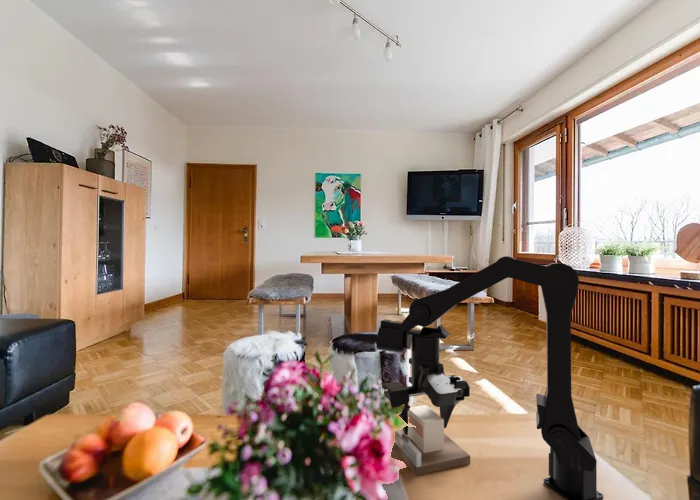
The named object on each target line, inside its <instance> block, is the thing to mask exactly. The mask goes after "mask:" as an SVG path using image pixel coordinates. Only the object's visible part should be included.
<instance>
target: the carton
mask: <svg viewBox="0 0 700 500" xmlns="http://www.w3.org/2000/svg"><path fill="white" fill-rule="evenodd" d="M408 417H410V418H409V420H408V421H409V423H411V424H412V425H414V426H416V428H415V427H408V436H409V437H410V438H411V440H412V441H413V442H414V443H415V444H416V445H417V446H418V447H419V448H420V449H421V450H422V451H423V452H424V453H427V452H432V451H437V450H443V449H444V434H445V428H444V419H443V418H441V417H440V414H437V413H436V412H435V411H434V410H433V409H431V408H430V407H429V406H428V405H426V404H423V405H418V406H416V405H415V406H410V409H409V410H408Z"/></svg>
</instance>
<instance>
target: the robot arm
mask: <svg viewBox="0 0 700 500" xmlns="http://www.w3.org/2000/svg"><path fill="white" fill-rule="evenodd" d="M579 278H580V277H579V275H578V272H577V271H576V269H574V268H573V267H572V266H570V265H568V264H566V263H561V262H551V263H548V264H546V265H544V264H540V263H535V262H529V261H526V260H521V259H517V258H514V257H513V256H506V255H505V256H502V257H499V258H498V259H497V260H496V261H495V262H493V263H491V264H489V265H488V266H486V267H485V268H482V269H480V270H479V271H477V272H475V273H473V274H471V275H470V276H468V277H466V278H464V279H463V280H461V281H458V282H457V283H456V284H453V285H451V286H450V287H448V288H446V289H443V290H440V291H438V292H434V293H431V294H429V295H425V296H422V297H419V298H417V299H414V300H413V301H412V302H411V303H410V305H409V309H408V314H407V316H406V318H405V317H404V320H402V321H396V320H391V319H386V318H385V319H383V320H381V321H380V326H379V328H378V331H377V335H376V339H375V341H376V343H375V344H376V348H377V350H379V351H384V352H390V353H399V354H405V353H406V352H407V350H410V349H411V357H409V358H408V364H410V365H411V376H408V383H410V384H411V386H403V385H402V384H401V383H400V382H398V381H396V382H395V381H394V382H386V383H382V385H381V386H382V387H383V388H384V389H388V391H387V392H386V397H387V398H389V400H390V402H391V405H392V406H393V407H392V408H394V407H398V406H400V405H402V404H405V408H404V410H403V411H402V413H401V414H400V415H399V416H400V417H401V418H402V419H403V420H404V421H405V422H406V423H407V424H408V410H409V409H410V407H411V406H410V405H409V402H410V397H411V398H412V397H418V396H427V398H428V399H429V400H430V403H431V404H432V405H433V406H434V407H436V408H439V416H440V417H441V418H443V419H444V429H446V428H447V427H448V424H449V421H450V419H451V415H452V414H453V411H454V409H455V407H456V405H457V404H459V403H460V402H464V401H465V399H466V398H467V397H470V396H471V387H470V385H469V383H468V381H467V380H464V379H463V377H462V376H461V375H455V374H451V375H445V369H444V364H443V363H441V362H440V339H443V340H445V339H447V338H448V337H449V336H450V332H449V331H448V330H447V329H446V328H445V327H444V325H443V324H439V325H438V326H437V327H431V325H433V323H435V322H437V320H439V319H441V317H443V316H444V315H445V314H447V313H448V312H449V311H451V310H452V309H453V308H454V307H455V306H457V305H458V304H460V303H462V302H464V301H466V300H467V299H470V298H471V297H473V296H475V295H478V294H479V293H481V292H482V291H485V290H486V289H489V288H491V287H493V286H494V285H497V283H500V282H501V281H504V280H505V279H513V280H517V281H521V282H524V283H528V284H532V285H535V286H539V287H540V289H541V294H542V298H543V304H544V307H545V308H544V309H545V311H546V314H545V315H546V318H545V319H546V321H545V322H546V389H545V392H544V394H540V393H536V397H535V398H536V408H537V410H536V412H535V419H536V421H535V422H536V429H537V430H540V431H541V432H540V433H541V437H542V439H543V441H544V442H545V443H546V444H547V445H548V446H549V450H550V451H549V453H548V477H545V478H543V483H544V484H545V485H546V486H548V487H549V488H550V489H552V490H554V491H555V492H556V493H557V494H559V496H561V497H563V498H564V499H565V500H603V499H604V494H603V493H601V492H600V491H599V490H597V489H598V488H597V487H598V486H597V485H598V484H597V483H598V482H597V480H598V477H597V465H598V463H597V462H598V460H597V458H596V455H595V452H594V447H593V445H592V443H591V440H590V437H589V435H588V434H587V433H586V432H585V431H584V430H583V428H582V427H580V426H579V424H578V419H577V415H576V410H575V407H574V402H573V397H572V328H571V327H572V325H571V324H572V319H571V317H572V313H573V309H574V306H575V303H576V299H577V294H578V289H579V284H580V279H579ZM417 326H419V327H422V328H421V329H414V328H415V327H417ZM402 430H403V432H404V434H405V435H408V426H406V427H404V428H403V429H402Z"/></svg>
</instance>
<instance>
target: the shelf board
mask: <svg viewBox="0 0 700 500" xmlns="http://www.w3.org/2000/svg"><path fill="white" fill-rule="evenodd" d="M392 447H393V448H394V450H395V451H396V452H397V454H398V455H399V456H400V458H402V460H403V461H404V463H406V465H407V466H408V467H409V468H410V469H411V471H412V472H413V473H414V474H415V476H419V475H424V474H428V473H435V472H437V471H442V470H446V469H451V468H454V467H455V468H456V467H460V466H464V465H470V464H471V455H470V454H469V453H468V452H467V451H465V449H464V448H462V447H461V446H459V444H457V443H456V442H455V441H454V440H452V439H451V437H449V436H448V435H447V434H446V433H444V449H443V450H437V451H432V452H427V453H424V452H423V451H422V450H421V449H420V448H419V447H418V446H417V445H416V444H415V443H414V442H413V441H412V440H411V438H410V437H409V436H408V435H405V434H404V432H403V430H398V431H395V443H394V446H392Z"/></svg>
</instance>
